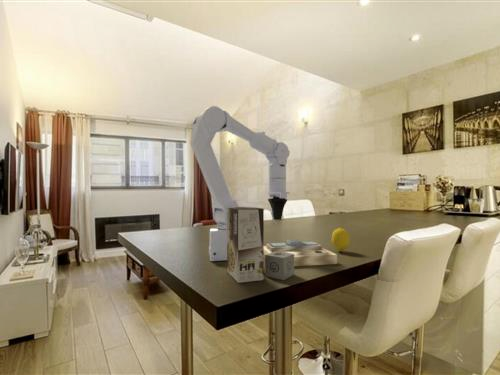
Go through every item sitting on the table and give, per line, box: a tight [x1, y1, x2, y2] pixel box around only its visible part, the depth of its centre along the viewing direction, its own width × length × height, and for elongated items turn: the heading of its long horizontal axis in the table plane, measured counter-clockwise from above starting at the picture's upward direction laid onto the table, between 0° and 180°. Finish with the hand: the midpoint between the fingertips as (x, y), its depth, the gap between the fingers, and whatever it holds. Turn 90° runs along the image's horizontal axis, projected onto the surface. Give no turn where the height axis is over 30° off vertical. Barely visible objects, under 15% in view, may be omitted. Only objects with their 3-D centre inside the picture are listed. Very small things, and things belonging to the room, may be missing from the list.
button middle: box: [285, 239, 303, 246], centre depth 81 cm, size 4×4×2 cm
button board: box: [264, 241, 338, 267], centre depth 79 cm, size 18×15×4 cm
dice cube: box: [264, 251, 295, 281], centre depth 64 cm, size 5×5×5 cm
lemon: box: [331, 227, 350, 253], centre depth 88 cm, size 6×6×8 cm
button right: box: [301, 241, 318, 246], centre depth 82 cm, size 4×4×2 cm
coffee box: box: [226, 206, 265, 284], centre depth 63 cm, size 9×6×16 cm
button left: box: [270, 242, 286, 247], centre depth 80 cm, size 4×4×2 cm
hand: (277, 219), depth 90 cm, fingers closed
